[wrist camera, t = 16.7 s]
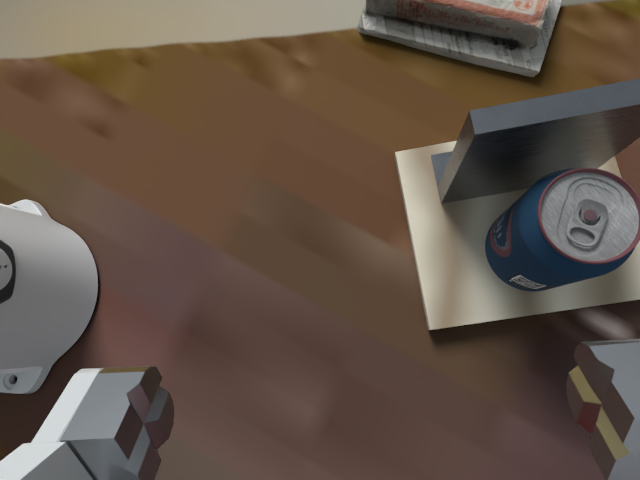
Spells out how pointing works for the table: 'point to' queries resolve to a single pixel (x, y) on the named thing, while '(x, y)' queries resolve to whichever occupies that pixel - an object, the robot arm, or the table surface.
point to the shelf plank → (483, 254)
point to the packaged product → (468, 29)
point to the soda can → (565, 230)
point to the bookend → (538, 140)
